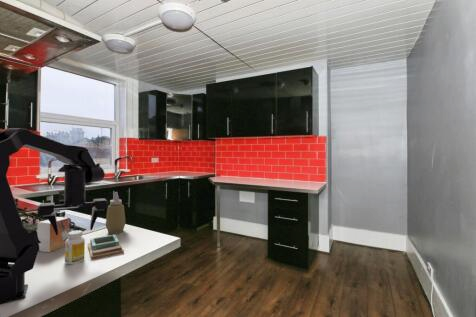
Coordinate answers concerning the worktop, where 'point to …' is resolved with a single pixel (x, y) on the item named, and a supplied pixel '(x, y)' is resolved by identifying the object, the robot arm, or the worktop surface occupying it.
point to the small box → (52, 234)
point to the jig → (104, 247)
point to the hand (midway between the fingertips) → (74, 232)
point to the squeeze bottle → (115, 215)
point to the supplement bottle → (74, 247)
